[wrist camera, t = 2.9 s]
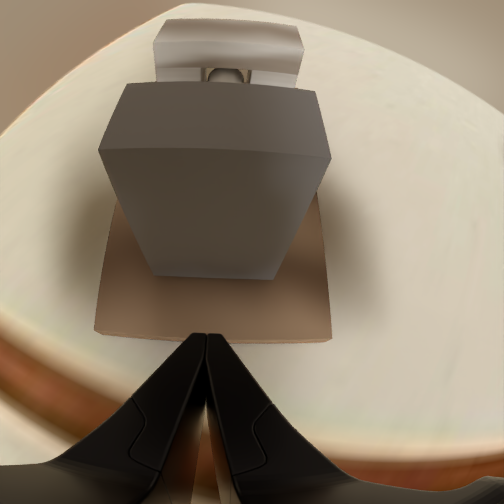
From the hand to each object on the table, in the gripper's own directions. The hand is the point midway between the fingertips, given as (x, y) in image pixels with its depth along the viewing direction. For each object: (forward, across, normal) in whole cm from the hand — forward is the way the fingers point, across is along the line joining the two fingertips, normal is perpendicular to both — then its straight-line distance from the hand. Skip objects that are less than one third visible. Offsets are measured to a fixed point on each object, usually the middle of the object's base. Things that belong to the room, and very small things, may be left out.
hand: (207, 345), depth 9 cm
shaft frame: (+13, 0, -3) cm, 13 cm away
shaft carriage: (+12, 0, -4) cm, 12 cm away
